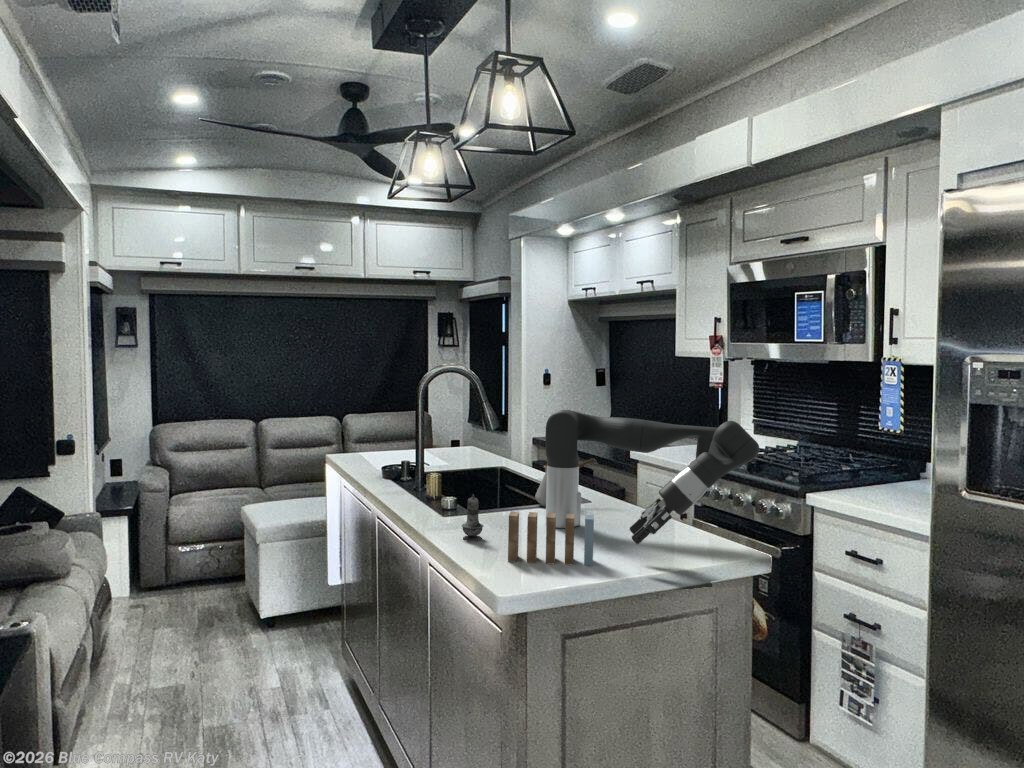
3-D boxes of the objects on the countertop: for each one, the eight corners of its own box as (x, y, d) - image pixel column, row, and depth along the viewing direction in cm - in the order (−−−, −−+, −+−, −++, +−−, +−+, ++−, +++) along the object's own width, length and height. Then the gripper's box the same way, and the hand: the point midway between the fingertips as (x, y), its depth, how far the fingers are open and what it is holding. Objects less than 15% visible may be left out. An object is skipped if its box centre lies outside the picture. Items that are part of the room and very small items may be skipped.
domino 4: (573, 558, 180) (574, 513, 180) (573, 564, 175) (574, 518, 175) (565, 558, 180) (566, 513, 180) (564, 564, 175) (565, 518, 175)
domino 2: (536, 557, 181) (537, 512, 180) (535, 562, 176) (536, 517, 176) (528, 556, 181) (529, 512, 181) (526, 562, 176) (527, 516, 176)
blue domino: (592, 559, 180) (593, 514, 179) (592, 565, 175) (593, 519, 174) (584, 559, 180) (585, 514, 179) (584, 565, 175) (585, 519, 174)
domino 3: (555, 558, 181) (555, 513, 180) (554, 563, 176) (555, 517, 175) (546, 557, 181) (547, 512, 180) (545, 563, 176) (546, 517, 175)
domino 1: (518, 556, 181) (519, 511, 181) (516, 561, 176) (517, 516, 176) (510, 555, 182) (510, 511, 181) (507, 561, 177) (508, 515, 176)
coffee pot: (543, 510, 235) (545, 463, 234) (529, 502, 245) (530, 457, 244) (603, 506, 243) (604, 460, 242) (586, 499, 253) (587, 455, 253)
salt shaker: (461, 536, 200) (461, 491, 199) (482, 536, 200) (483, 491, 200) (461, 541, 194) (462, 496, 193) (483, 541, 195) (484, 496, 194)
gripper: (699, 508, 167) (646, 556, 169) (690, 496, 181) (641, 540, 183) (676, 484, 167) (623, 532, 169) (669, 473, 181) (620, 518, 183)
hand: (633, 536), depth 176 cm, fingers open, 8 cm apart
